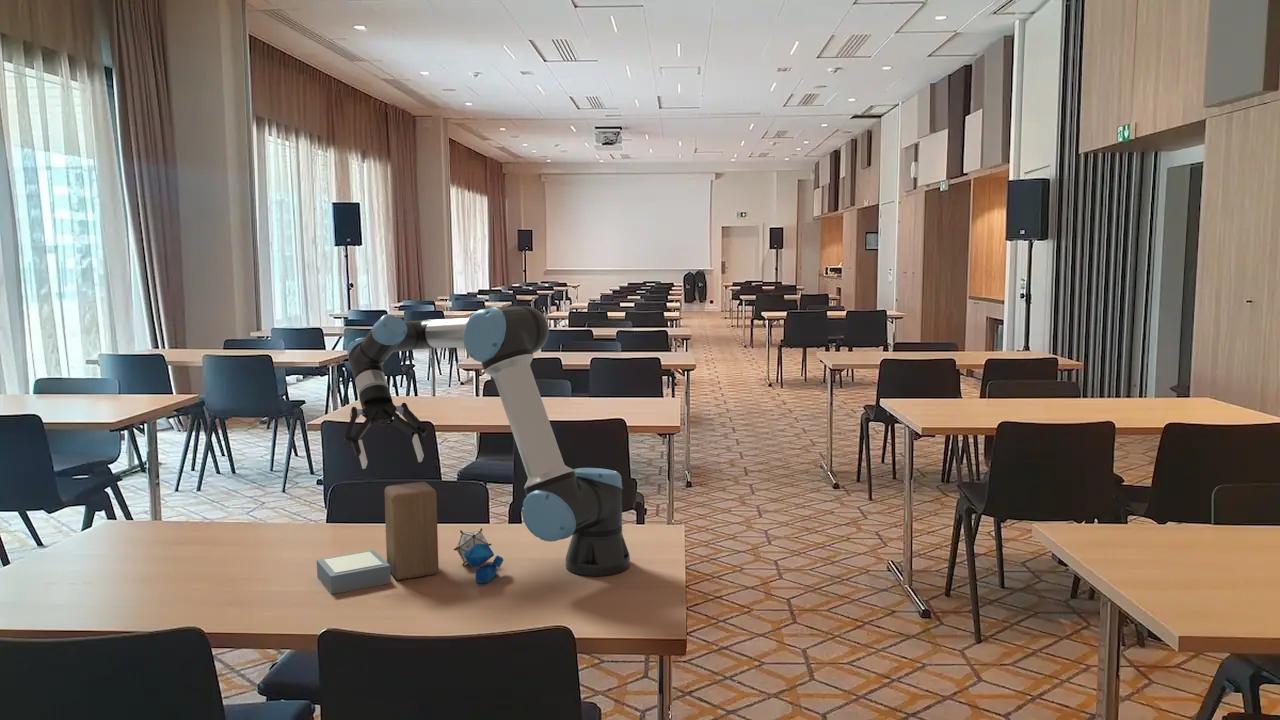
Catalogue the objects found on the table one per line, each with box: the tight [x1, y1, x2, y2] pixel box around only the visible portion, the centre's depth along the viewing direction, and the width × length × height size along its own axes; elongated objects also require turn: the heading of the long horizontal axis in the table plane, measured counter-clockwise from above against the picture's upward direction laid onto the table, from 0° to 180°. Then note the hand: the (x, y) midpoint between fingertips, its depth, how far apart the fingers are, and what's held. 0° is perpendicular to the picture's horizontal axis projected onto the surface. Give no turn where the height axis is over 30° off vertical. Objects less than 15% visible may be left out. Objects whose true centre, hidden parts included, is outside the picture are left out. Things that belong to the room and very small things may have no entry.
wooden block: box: [383, 481, 440, 581], centre depth 208 cm, size 10×10×20 cm
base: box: [316, 549, 392, 595], centre depth 204 cm, size 13×13×4 cm
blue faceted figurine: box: [464, 543, 504, 584], centre depth 203 cm, size 7×9×12 cm
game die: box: [453, 527, 492, 567], centre depth 215 cm, size 9×8×10 cm
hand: (393, 462), depth 216 cm, fingers open, 13 cm apart
